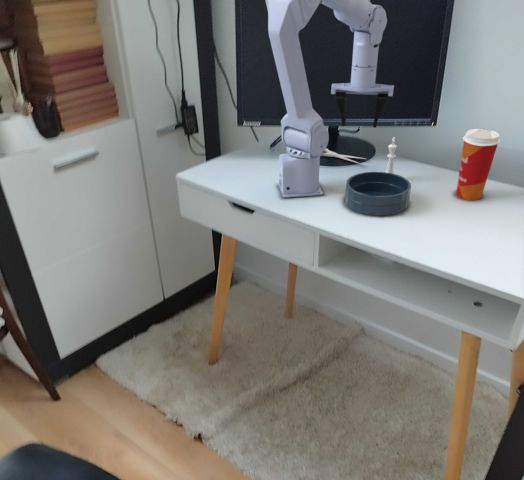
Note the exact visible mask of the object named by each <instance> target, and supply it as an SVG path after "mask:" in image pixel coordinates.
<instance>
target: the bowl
mask: <svg viewBox="0 0 524 480" xmlns="http://www.w3.org/2000/svg"><path fill="white" fill-rule="evenodd" d="M396 174H397V173H396ZM396 174H393V173H387V172H385V171H365V172H359V173H356V174H353V175H352V176H351V175H350V177H348V179H346V183H345V194H344V195H345V196H344V203H345V205H346V206H347V207H348V208H350V210H352V211H355V212H358V213H360V214H365V215H369V216H389V215H394V214H399V213H401V212H403V211H405V210H406V209H407V208H408V206H409V204H410V196H411V191H412V183H411V181H410V180H409V179H407V178H405V177H404V176H402V175H399V174H398V175H396Z"/></svg>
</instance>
